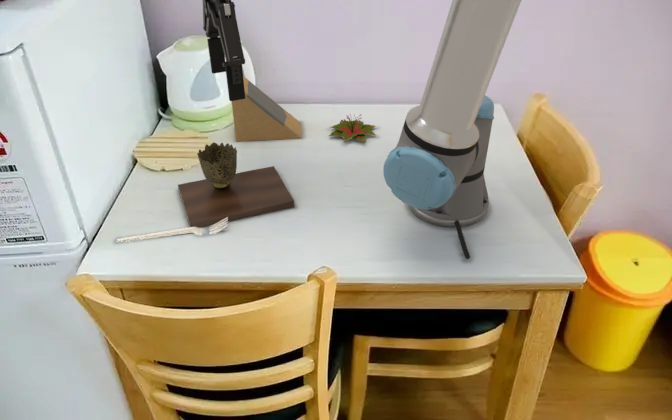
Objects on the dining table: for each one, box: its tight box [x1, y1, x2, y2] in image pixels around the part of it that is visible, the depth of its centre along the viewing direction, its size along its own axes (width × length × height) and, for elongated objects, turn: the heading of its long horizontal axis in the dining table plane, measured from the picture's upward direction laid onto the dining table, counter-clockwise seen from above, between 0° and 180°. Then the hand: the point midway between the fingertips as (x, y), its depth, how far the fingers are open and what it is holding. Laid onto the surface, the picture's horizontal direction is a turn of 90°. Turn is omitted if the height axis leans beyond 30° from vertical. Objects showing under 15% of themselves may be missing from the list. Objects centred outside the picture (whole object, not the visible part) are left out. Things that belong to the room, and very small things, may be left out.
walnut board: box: [177, 165, 295, 228], centre depth 117 cm, size 14×20×2 cm
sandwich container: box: [231, 75, 303, 142], centre depth 137 cm, size 9×15×15 cm, turn 95°
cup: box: [196, 142, 238, 190], centre depth 116 cm, size 8×7×8 cm
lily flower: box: [328, 114, 376, 143], centre depth 139 cm, size 12×12×5 cm
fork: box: [116, 217, 229, 243], centre depth 108 cm, size 3×20×2 cm, turn 103°
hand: (227, 85), depth 109 cm, fingers open, 13 cm apart
